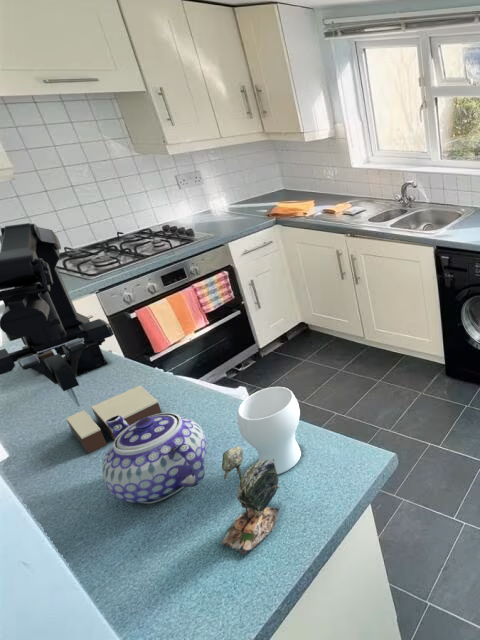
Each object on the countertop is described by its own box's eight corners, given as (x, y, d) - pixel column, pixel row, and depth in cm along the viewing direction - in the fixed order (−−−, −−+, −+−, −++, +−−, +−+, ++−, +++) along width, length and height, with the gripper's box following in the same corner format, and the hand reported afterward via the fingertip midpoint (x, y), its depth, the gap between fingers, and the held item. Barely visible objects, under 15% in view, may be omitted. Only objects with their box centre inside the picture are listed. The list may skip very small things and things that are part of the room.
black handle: (76, 390, 95) (59, 353, 92) (87, 404, 91) (70, 365, 88) (61, 396, 94) (43, 358, 90) (72, 410, 90) (54, 371, 86)
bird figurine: (301, 506, 78) (281, 422, 71) (241, 563, 69) (211, 473, 62) (272, 489, 82) (250, 407, 74) (211, 541, 72) (179, 453, 65)
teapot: (246, 472, 85) (228, 414, 80) (161, 541, 72) (133, 477, 66) (171, 432, 95) (150, 377, 89) (83, 486, 82) (53, 426, 76)
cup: (319, 451, 90) (307, 395, 85) (272, 490, 81) (256, 430, 76) (287, 433, 95) (274, 378, 89) (239, 468, 86) (222, 409, 81)
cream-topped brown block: (91, 425, 96) (84, 409, 95) (107, 444, 91) (99, 428, 90) (73, 433, 94) (65, 418, 92) (88, 453, 89) (80, 437, 87)
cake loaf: (145, 399, 104) (140, 385, 103) (163, 416, 99) (157, 400, 98) (98, 422, 97) (91, 406, 95) (114, 440, 92) (107, 424, 91)
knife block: (49, 355, 121) (42, 340, 119) (60, 367, 116) (53, 351, 114) (29, 362, 118) (21, 347, 116) (39, 374, 113) (31, 359, 111)
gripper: (85, 289, 96) (108, 347, 102) (-44, 324, 82) (-9, 390, 87) (101, 301, 91) (125, 363, 96) (-34, 341, 76) (3, 411, 82)
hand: (65, 379), depth 90 cm, fingers closed on black handle, 2 cm apart
